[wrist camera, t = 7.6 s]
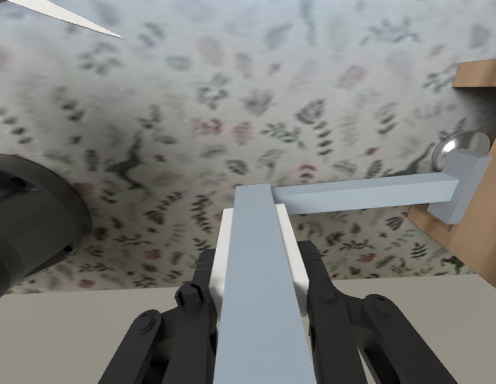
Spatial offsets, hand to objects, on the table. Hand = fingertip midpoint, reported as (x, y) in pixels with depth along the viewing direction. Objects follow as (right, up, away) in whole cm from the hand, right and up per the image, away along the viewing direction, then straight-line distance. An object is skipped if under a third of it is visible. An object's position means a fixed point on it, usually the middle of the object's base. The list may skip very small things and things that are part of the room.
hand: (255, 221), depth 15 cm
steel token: (+23, +7, +8) cm, 26 cm away
